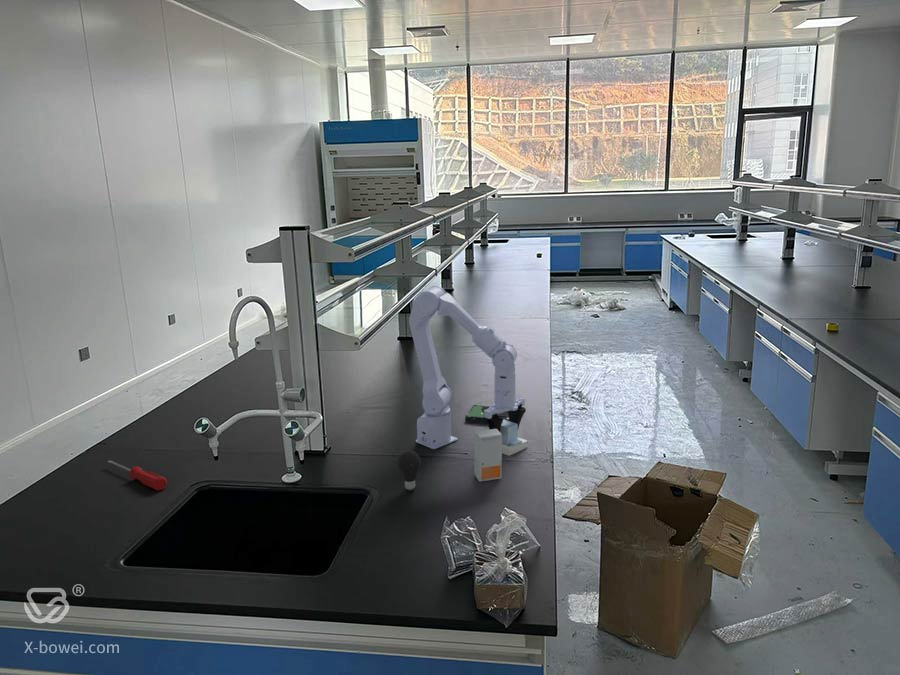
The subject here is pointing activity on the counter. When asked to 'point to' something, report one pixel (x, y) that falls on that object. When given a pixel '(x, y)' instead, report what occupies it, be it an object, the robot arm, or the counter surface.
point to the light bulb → (409, 467)
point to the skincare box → (488, 454)
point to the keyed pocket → (514, 447)
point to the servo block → (509, 433)
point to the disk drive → (481, 415)
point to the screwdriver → (146, 477)
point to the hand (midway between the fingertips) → (504, 435)
